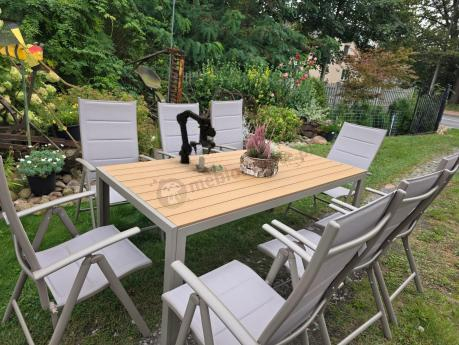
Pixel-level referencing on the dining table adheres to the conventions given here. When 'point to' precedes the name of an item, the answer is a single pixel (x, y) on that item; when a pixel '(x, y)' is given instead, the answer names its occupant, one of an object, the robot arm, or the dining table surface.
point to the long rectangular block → (201, 162)
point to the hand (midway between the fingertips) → (202, 155)
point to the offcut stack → (203, 170)
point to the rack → (199, 168)
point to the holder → (217, 167)
